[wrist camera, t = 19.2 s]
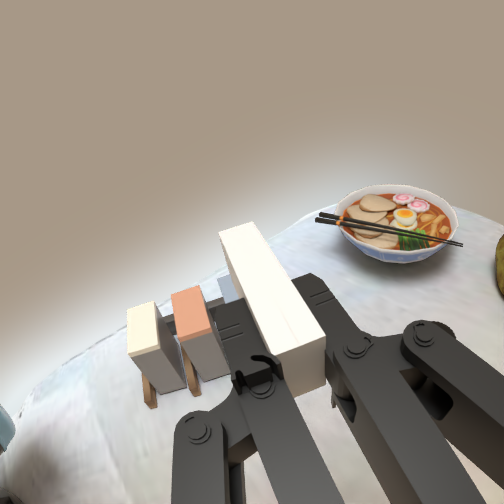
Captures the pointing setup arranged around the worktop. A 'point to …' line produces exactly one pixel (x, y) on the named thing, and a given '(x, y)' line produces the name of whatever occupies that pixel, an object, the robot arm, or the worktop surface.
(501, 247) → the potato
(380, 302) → the worktop surface
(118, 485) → the worktop surface
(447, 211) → the ramen bowl
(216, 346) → the terracotta key
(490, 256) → the worktop surface
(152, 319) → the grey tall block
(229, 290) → the slate key
